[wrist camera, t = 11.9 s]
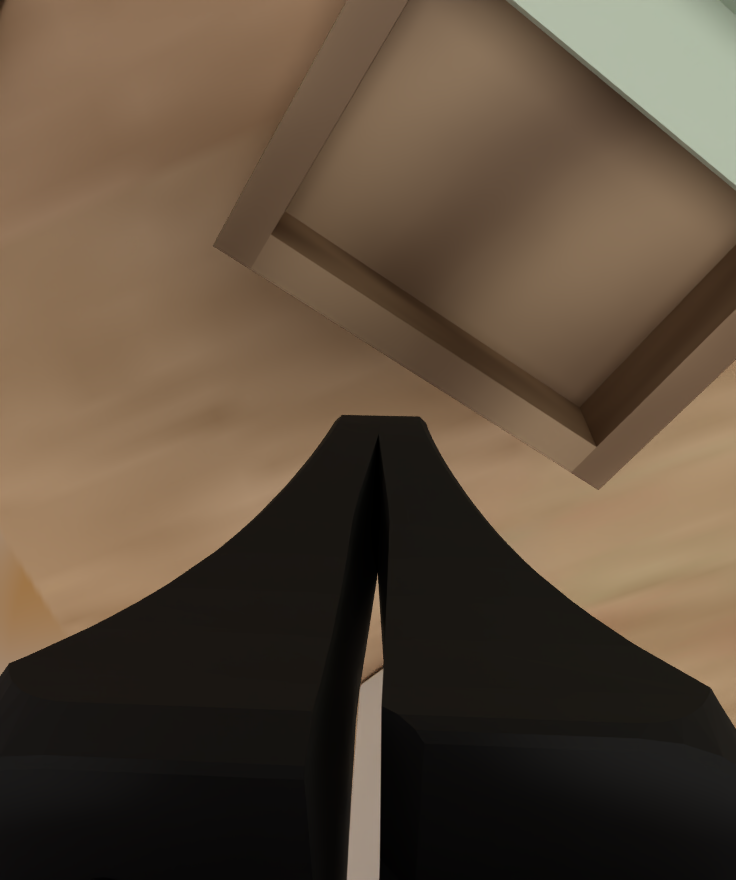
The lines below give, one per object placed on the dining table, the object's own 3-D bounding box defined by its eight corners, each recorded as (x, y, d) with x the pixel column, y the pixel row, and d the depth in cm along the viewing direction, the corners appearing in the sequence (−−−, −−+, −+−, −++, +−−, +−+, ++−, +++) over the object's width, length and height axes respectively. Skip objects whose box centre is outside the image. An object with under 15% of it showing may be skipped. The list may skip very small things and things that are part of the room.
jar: (589, 751, 30) (680, 1133, 20) (406, 780, 32) (403, 1145, 22) (546, 602, 26) (634, 992, 16) (337, 645, 28) (294, 1020, 17)
